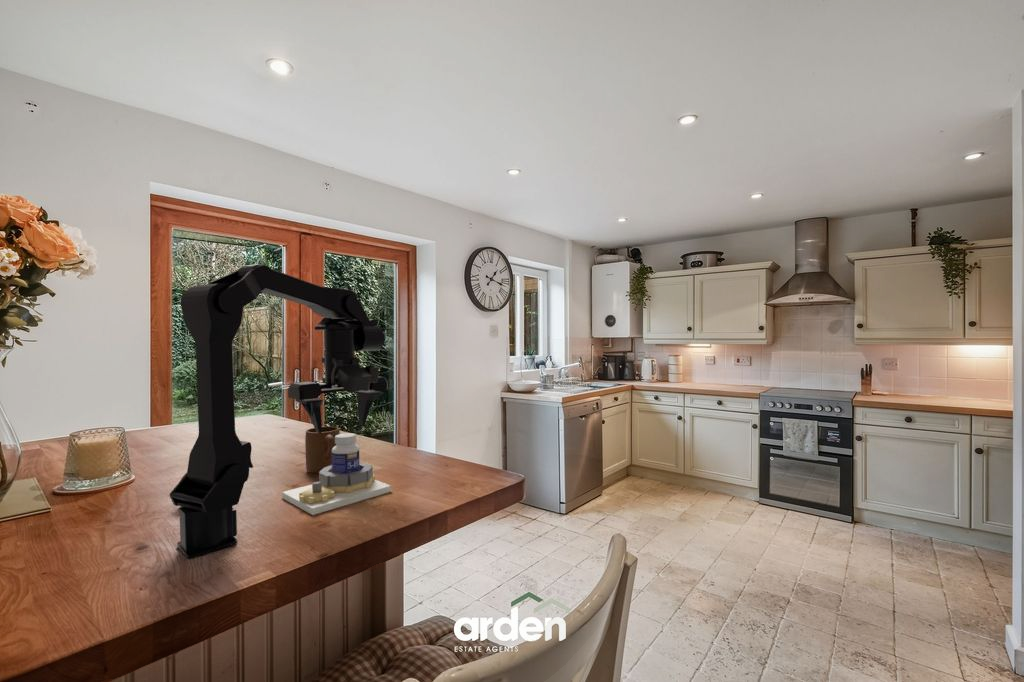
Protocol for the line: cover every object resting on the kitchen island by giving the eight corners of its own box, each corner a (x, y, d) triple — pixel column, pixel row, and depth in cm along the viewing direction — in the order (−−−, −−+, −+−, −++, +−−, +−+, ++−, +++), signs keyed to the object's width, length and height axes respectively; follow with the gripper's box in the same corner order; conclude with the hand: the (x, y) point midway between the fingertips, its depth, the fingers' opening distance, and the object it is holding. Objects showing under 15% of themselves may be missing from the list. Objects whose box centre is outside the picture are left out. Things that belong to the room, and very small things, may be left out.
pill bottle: (351, 483, 93) (350, 438, 93) (326, 482, 95) (325, 437, 94) (364, 475, 99) (363, 432, 98) (341, 474, 100) (340, 432, 100)
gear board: (311, 515, 84) (311, 490, 84) (281, 498, 93) (281, 475, 93) (390, 491, 96) (390, 469, 96) (357, 478, 104) (357, 458, 104)
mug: (350, 474, 107) (349, 433, 107) (315, 481, 103) (314, 437, 103) (335, 462, 117) (334, 424, 117) (302, 468, 113) (301, 428, 113)
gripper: (311, 355, 84) (313, 444, 84) (402, 351, 97) (403, 427, 98) (285, 354, 91) (287, 435, 92) (373, 350, 105) (374, 420, 105)
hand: (341, 429), depth 96 cm, fingers open, 9 cm apart
